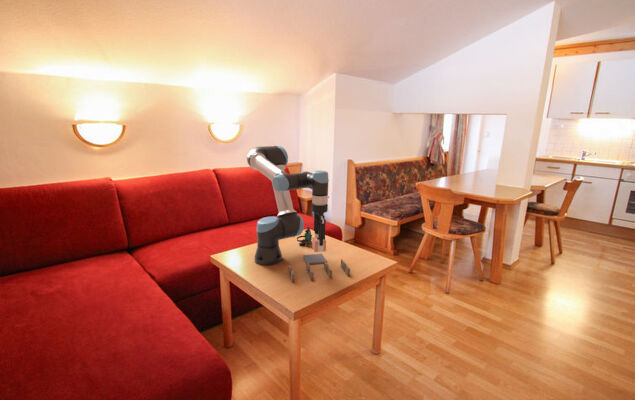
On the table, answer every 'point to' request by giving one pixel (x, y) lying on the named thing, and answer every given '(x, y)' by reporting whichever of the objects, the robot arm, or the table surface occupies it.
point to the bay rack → (326, 267)
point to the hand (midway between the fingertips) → (318, 248)
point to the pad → (314, 259)
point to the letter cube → (315, 244)
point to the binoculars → (306, 238)
